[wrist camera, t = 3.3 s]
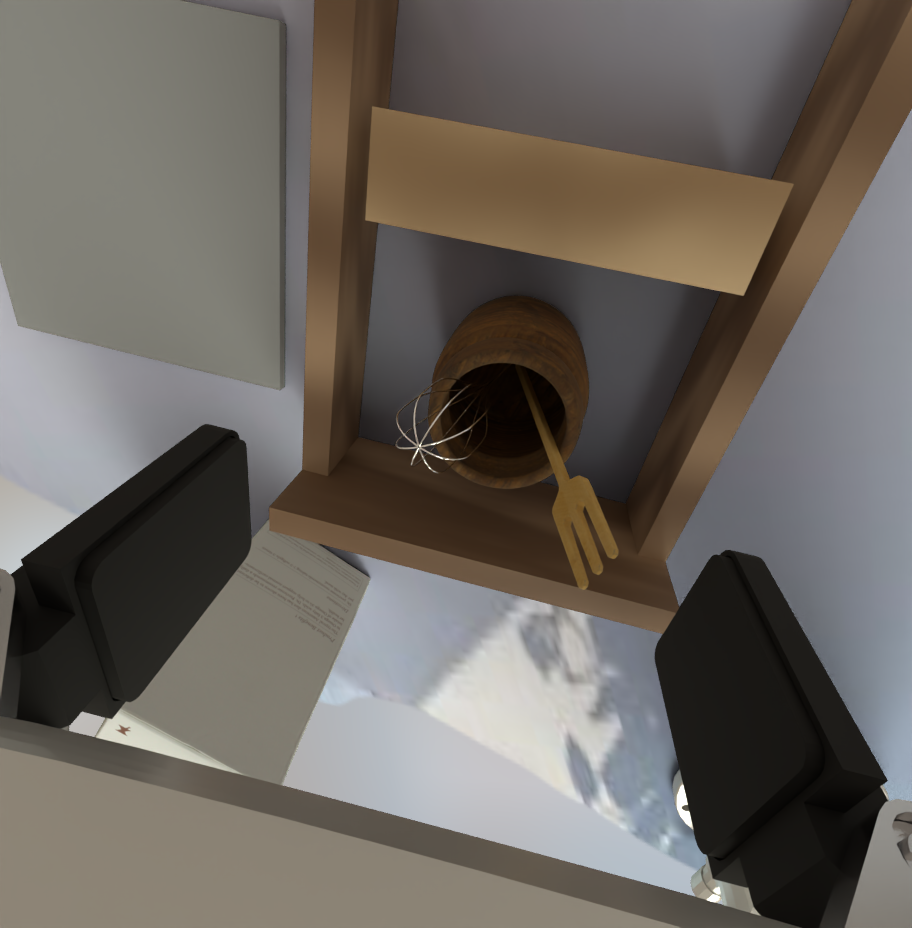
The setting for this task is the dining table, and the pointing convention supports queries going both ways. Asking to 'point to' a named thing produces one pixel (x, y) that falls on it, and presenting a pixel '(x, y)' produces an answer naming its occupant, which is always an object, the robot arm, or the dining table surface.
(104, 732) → the supplement box
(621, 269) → the oak offcut block
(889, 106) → the walnut u-shaped frame
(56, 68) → the slate mat
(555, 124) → the dining table surface
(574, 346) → the utensil holder
